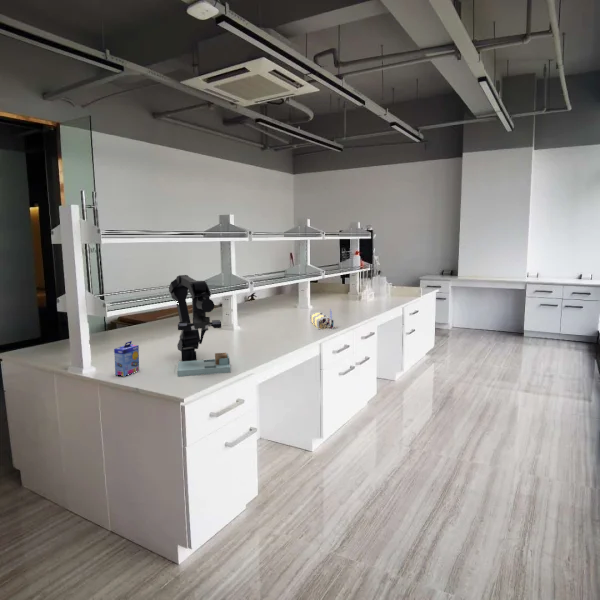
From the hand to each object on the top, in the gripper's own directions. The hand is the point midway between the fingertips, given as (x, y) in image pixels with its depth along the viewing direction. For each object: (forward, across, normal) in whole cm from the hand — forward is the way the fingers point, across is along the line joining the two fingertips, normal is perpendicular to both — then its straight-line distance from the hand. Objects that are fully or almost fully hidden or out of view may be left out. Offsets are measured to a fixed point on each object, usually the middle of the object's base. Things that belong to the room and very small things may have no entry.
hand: (200, 343), depth 202 cm
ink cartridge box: (+12, -32, +3) cm, 34 cm away
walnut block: (+9, +9, 0) cm, 13 cm away
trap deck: (+12, +1, 0) cm, 12 cm away
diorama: (+12, +80, +82) cm, 115 cm away
